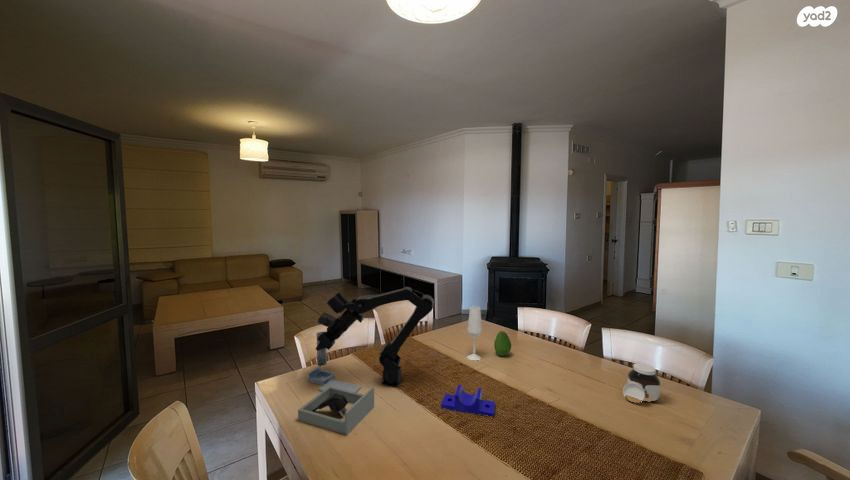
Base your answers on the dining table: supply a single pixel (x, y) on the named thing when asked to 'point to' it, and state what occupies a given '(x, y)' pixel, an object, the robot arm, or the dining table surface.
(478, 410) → the mounting bracket
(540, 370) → the dining table surface
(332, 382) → the mat
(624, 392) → the spread jar
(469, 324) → the champagne flute
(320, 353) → the dark gray cup
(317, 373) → the blue gray open box
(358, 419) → the case
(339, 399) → the power plug
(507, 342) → the avocado
